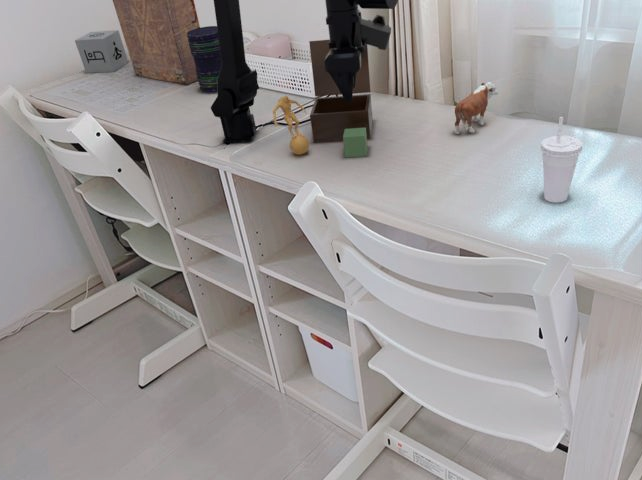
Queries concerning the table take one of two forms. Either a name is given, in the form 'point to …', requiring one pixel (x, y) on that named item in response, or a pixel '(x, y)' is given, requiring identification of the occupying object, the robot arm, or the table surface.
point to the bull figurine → (474, 106)
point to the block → (355, 142)
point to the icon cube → (101, 51)
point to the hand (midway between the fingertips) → (350, 94)
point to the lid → (324, 80)
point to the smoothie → (559, 164)
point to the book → (159, 37)
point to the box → (340, 117)
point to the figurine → (297, 142)
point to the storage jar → (206, 56)
